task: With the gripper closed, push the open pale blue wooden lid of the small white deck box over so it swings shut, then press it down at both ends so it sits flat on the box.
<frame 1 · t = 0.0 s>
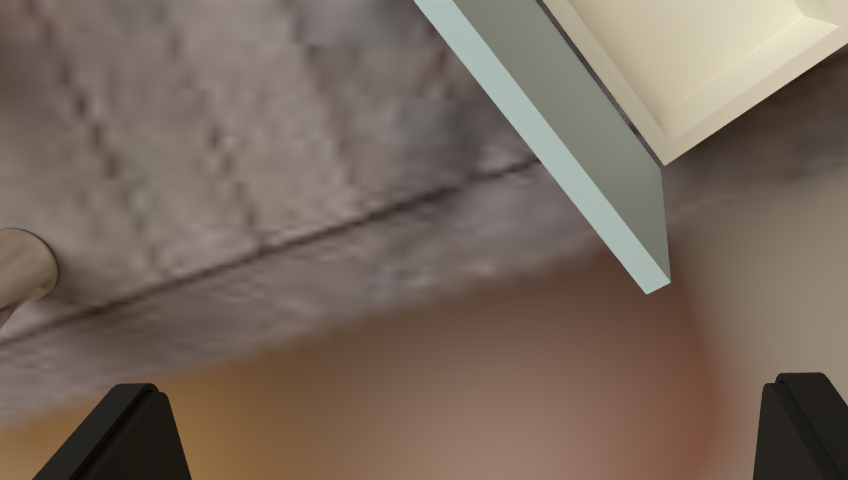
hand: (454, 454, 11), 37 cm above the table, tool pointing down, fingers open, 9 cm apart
lid: (535, 68, 33), point 12 cm above the table, hinge at 100.0°
beer glass: (23, 262, 56), on the table
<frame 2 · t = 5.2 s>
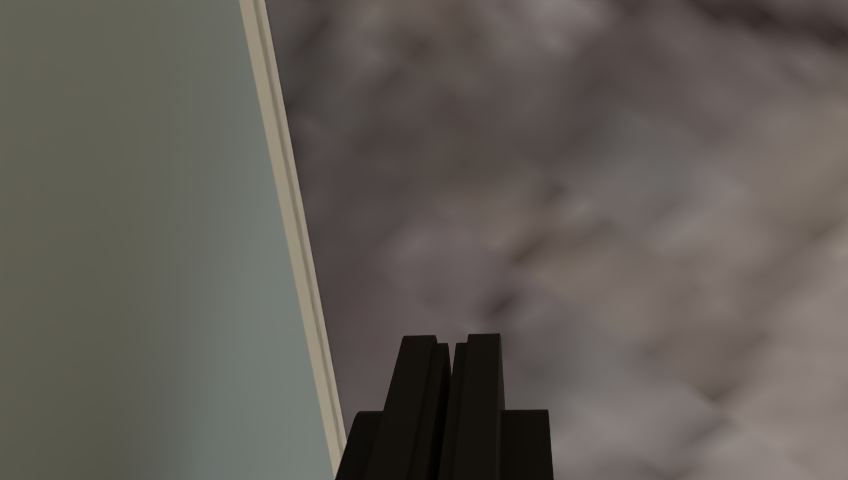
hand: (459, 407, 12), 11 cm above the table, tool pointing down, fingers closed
lid: (198, 439, 12), point 12 cm above the table, hinge at 96.0°, touching gripper
deck box: (133, 212, 24), on the table
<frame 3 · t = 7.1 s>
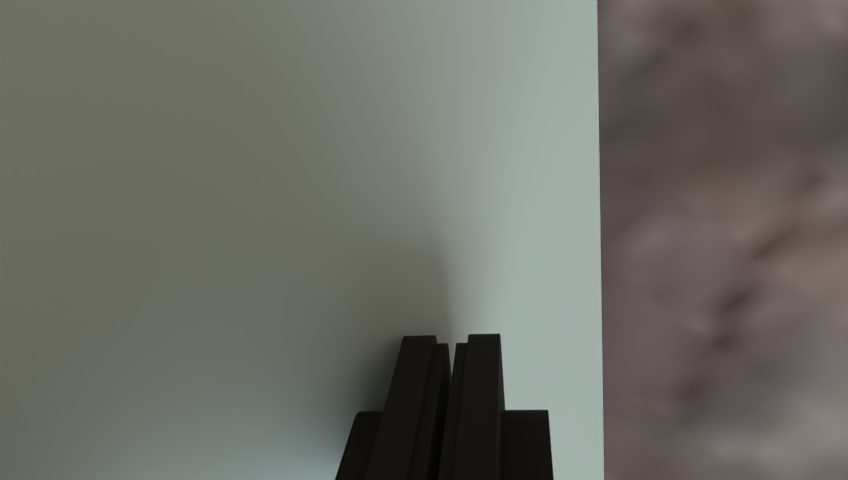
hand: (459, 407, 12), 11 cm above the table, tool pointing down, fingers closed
lid: (381, 409, 13), point 11 cm above the table, hinge at 49.6°, touching gripper
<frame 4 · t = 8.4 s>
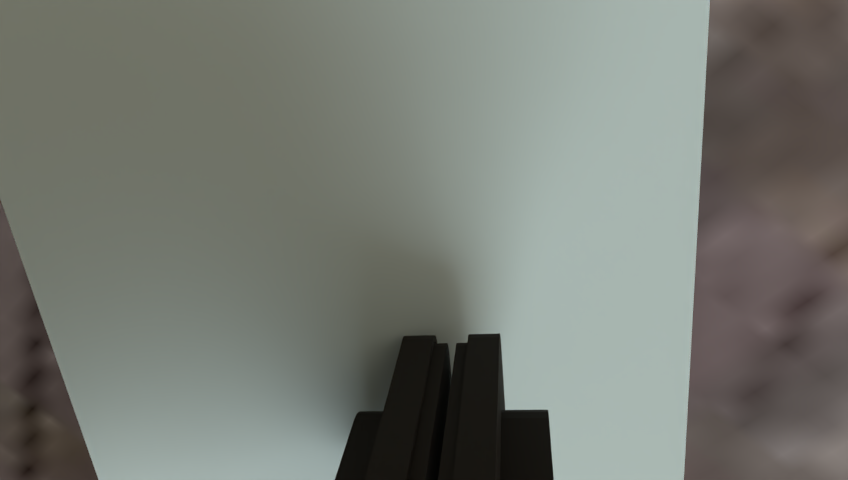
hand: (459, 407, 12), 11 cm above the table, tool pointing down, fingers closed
lid: (448, 380, 13), point 10 cm above the table, hinge at 36.7°, touching gripper
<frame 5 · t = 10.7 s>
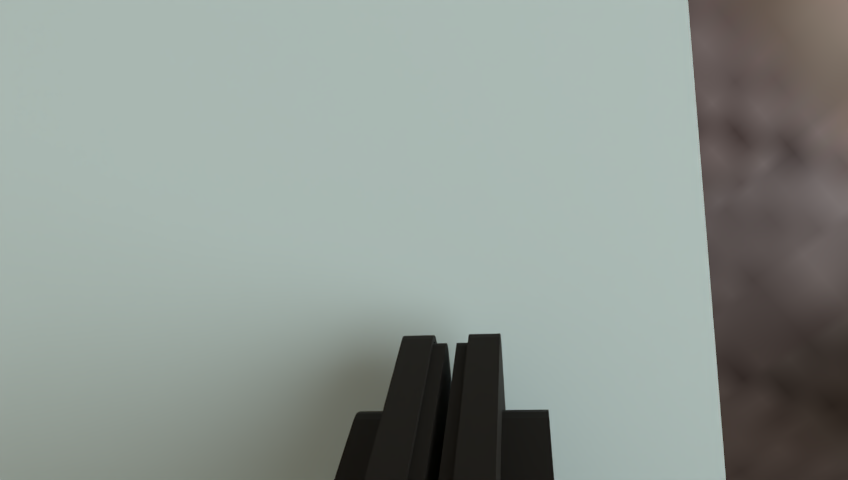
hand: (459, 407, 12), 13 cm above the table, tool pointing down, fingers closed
lid: (206, 190, 15), point 10 cm above the table, hinge at 33.1°, touching gripper
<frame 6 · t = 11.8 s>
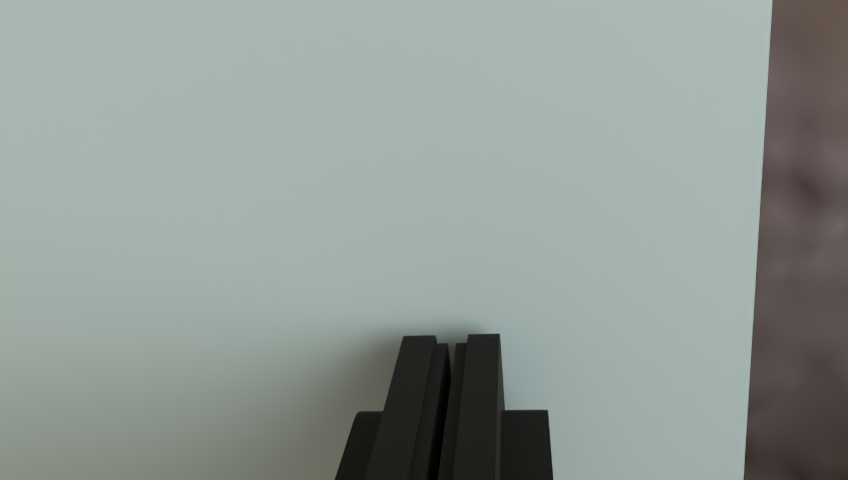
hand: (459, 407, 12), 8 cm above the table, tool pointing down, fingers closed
lid: (180, 298, 13), point 7 cm above the table, hinge at 5.9°, touching gripper
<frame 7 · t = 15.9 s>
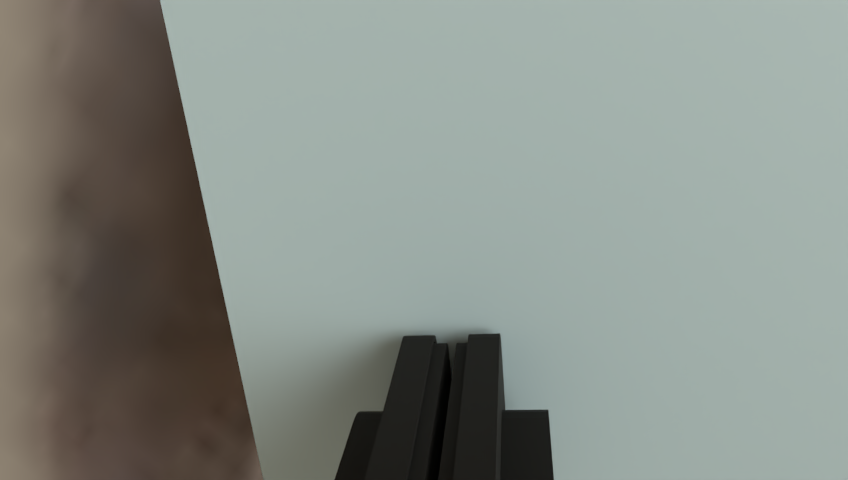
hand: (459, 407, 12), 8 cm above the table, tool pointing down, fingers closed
lid: (836, 281, 11), point 7 cm above the table, hinge at 2.0°, touching gripper
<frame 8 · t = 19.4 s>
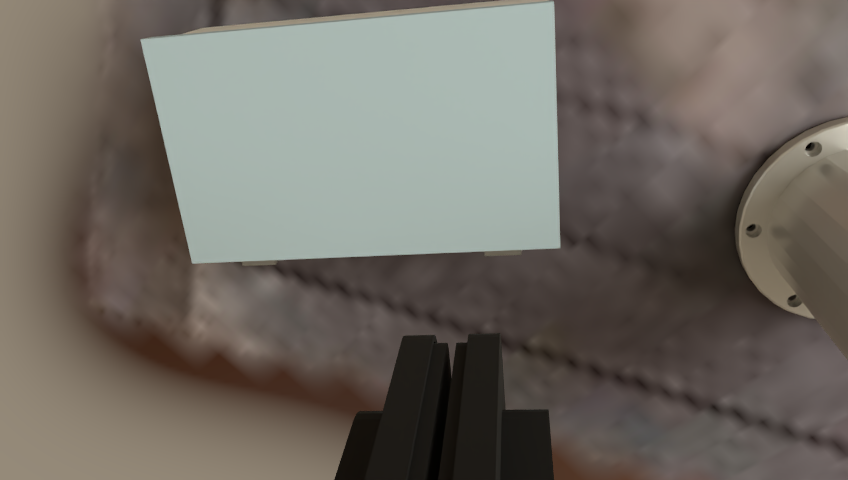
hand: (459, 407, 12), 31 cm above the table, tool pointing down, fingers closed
lid: (357, 143, 36), point 7 cm above the table, hinge at 1.9°
deck box: (380, 116, 42), on the table
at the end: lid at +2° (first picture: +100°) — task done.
